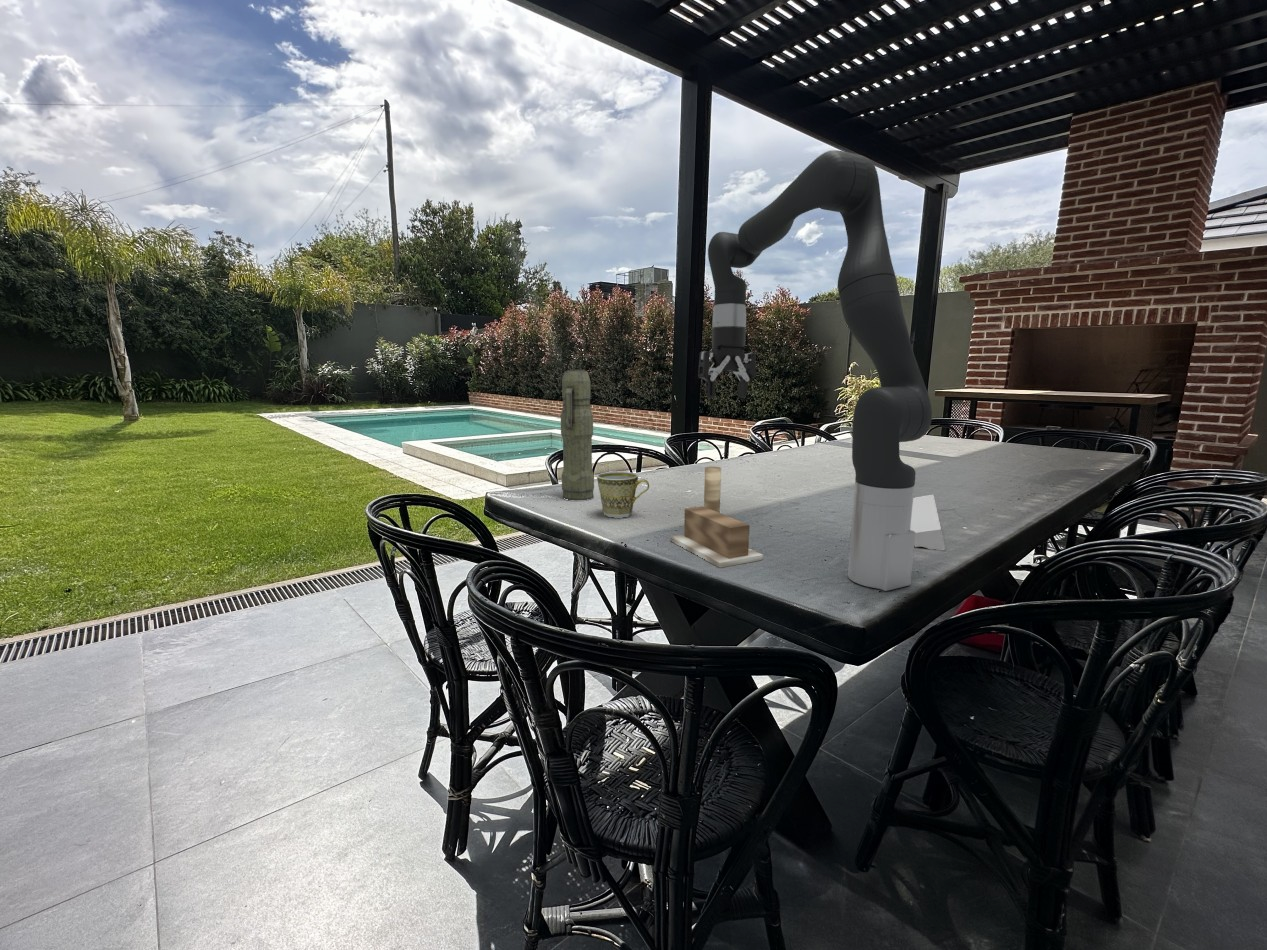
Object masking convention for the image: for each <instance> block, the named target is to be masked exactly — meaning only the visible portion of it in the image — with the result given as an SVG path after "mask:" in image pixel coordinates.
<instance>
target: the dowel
mask: <svg viewBox="0 0 1267 950" xmlns="http://www.w3.org/2000/svg"><path fill="white" fill-rule="evenodd" d="M721 482H722V467H720V466H705V467H704V484H703V485H704V486H703V487H704V489H703V491H704V492H703V494H704V495H703V507H706V508H708V509H711V510H713V511H716V512H718V513H721V490H722V489H721V487H722V486H721V485H722V483H721Z"/></svg>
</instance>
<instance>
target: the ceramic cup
mask: <svg viewBox="0 0 1267 950" xmlns="http://www.w3.org/2000/svg"><path fill="white" fill-rule="evenodd" d="M596 478H597V479H596V480H597V488H598V491H599V494H600V501H601V506H602V511H603V515H604V516H605V515H606V516H608V517H614V518H613V519H617V518H620V519H624V518H623V517H627V518H630V517H631V516H632V513H633V509H634V503H635V502H636V500H637V499H638V498H640V497H641V496H642V495H643V494H644V493H646V492H647V491H648V490H649V489H650V484H649V481H648V480H647V479H644V478H643V479H639V475H638V473H634V472H629V471H608V472H602V473H599V474H597V475H596ZM638 479H639V480H638ZM641 483H645V484H646V485H647V487H646V488H645V489H644V490H643V491H642V492H640V493H639V494H638V495H637V496H636V492H637V488H638V486H639V485H640V484H641ZM630 515H631V516H630ZM606 516H605V517H606ZM629 516H630V517H629ZM608 517H607V518H608Z"/></svg>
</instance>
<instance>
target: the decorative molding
mask: <svg viewBox="0 0 1267 950" xmlns="http://www.w3.org/2000/svg"><path fill="white" fill-rule="evenodd" d="M938 513H939V512H938V510H937V505H936V501H935V496H934V494H928V495H922V496H921V495H920V496H917V497H913V505H912V516H911V527H910V530H913V531H914V532H915V543H914V548H919V547H922V548H925V549H928V550H930V549H939V550H940V549H941V550H945V551H946V546H945V540H944V537H943V533H942V528H941V523H940V520H939V519H940V518H939V514H938Z"/></svg>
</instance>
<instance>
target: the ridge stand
mask: <svg viewBox="0 0 1267 950" xmlns="http://www.w3.org/2000/svg"><path fill="white" fill-rule="evenodd" d="M683 521H684V523H683V524H684V527H683V529H684V530H683V531H684V532H683V534H678V535H673V536H672V535H671V536H670V542H671V541H672V543H673V542H674V543H673V544H675V545H677V546H679V547H680V546H681V547H680V548H682V547H683V548H682V549H684V550H686V549H687V550H686V551H687V552H690V553H691V552H692V554H693V553H694V554H693V555H696V556H697V555H698V556H697V557H699V558H701V559H702V558H703V559H702V560H704V559H705V560H704V561H706V562H708V563H710V564H712V565H714V566H715V567H717V568H726V567H732V566H737V565H742V564H747V563H753V562H758V561H763V560H764V554H763V553H760V552H758V551H755V550H753V549H751V548H749V544H750V543H749V542H750V524H748V523H745V522H743V521H741V520H738V519H736V518H734V517H730V516H728V515H726V514H724V513H721V512H720V513H718V512H716V511H713V510H711V509H708V508H706V507H704V505H703V506H695V507H694V506H693V507H686V508H684V520H683Z"/></svg>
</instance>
